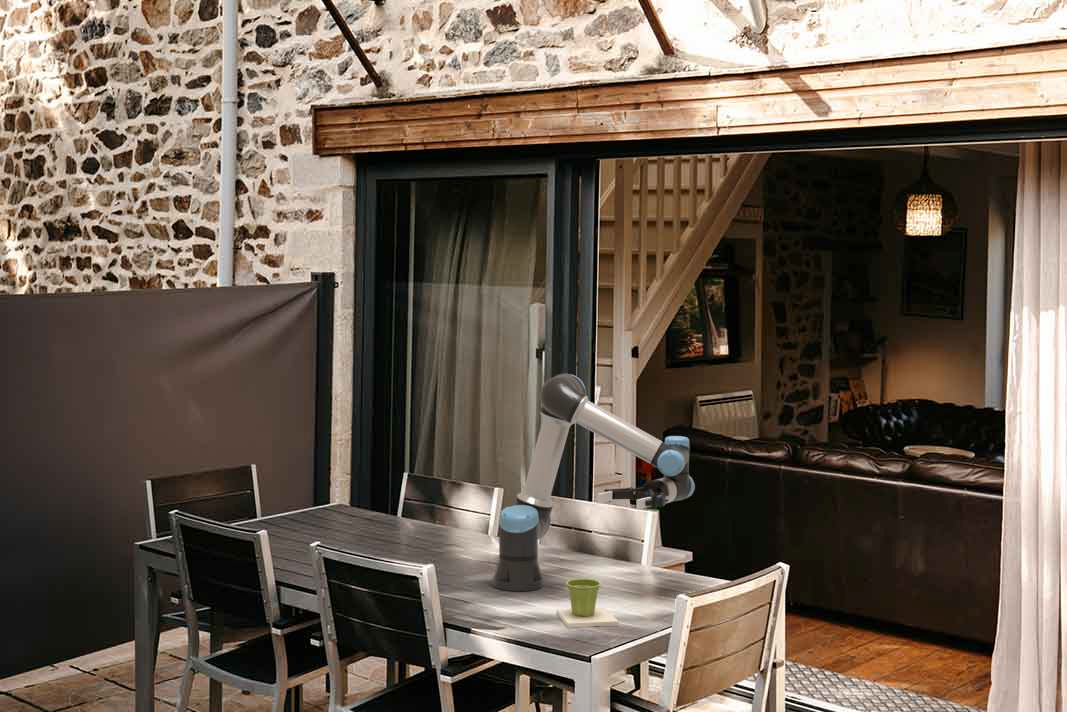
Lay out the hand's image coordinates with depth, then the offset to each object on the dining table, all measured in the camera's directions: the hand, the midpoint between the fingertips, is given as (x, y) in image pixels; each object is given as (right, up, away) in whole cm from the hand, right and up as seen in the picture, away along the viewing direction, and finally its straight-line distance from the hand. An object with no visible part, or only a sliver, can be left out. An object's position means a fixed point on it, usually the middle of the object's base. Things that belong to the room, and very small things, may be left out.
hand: (617, 501), depth 354 cm
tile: (-9, -31, -13) cm, 35 cm away
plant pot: (-10, -30, -12) cm, 33 cm away
